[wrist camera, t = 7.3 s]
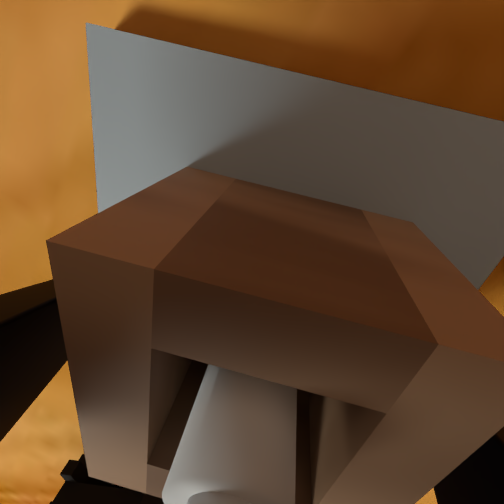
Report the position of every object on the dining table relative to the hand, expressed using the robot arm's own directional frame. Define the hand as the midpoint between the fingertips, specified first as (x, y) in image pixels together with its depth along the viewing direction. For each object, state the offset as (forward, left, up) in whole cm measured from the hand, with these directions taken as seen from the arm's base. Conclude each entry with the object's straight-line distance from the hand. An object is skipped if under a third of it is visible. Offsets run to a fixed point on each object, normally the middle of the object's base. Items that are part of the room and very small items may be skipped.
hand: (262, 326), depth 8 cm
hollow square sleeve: (0, 0, -2) cm, 2 cm away
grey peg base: (0, 0, -3) cm, 3 cm away
